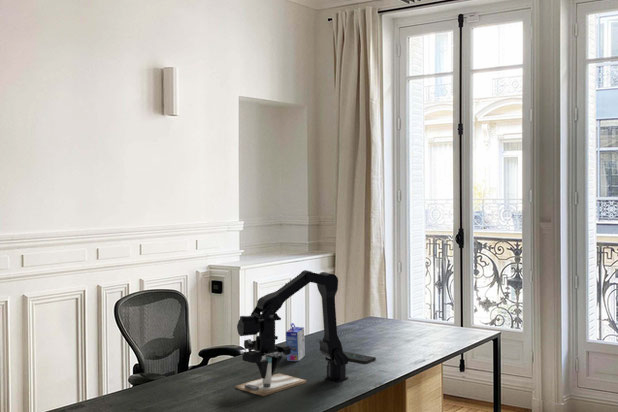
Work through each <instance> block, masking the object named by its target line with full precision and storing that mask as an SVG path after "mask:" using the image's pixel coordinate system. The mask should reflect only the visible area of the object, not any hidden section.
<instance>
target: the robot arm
mask: <svg viewBox="0 0 618 412" xmlns="http://www.w3.org/2000/svg"><path fill="white" fill-rule="evenodd" d="M310 283H314V284H316V288H317V291H318V292H319V294H320V296H321V306H322V319H323V331H324V332H323V334H324V335H323V338H322V339H319V341H318V343H319V351H320V352H321V355H322V356H323V358H324V360H325V361H326V362H327V365H326V376H325V377H324V380H329V381H333V382H336V383H339V382H341V381H344V380H347V379H349V377H348V376H346V375H347V374H346V373H347V372H346V371H347V369H346V368H347V365H348V364H349V362H350V361H349V358H348V357H347V356H346V355H345V354H344V353H343V351H344V350H343V349H344V348H343V345H342V342H341V339H340V338H339V336H338V324H337V312H336V295H337V292H338V290H339V277H338V276H337V275H335V274H334V273H332V272H331V273H330V272H326V271H322V272H320V273H317V272H313V271H310V270H306V269H305V270H302V271H301V272H300V273H299V274H297V275H296V276H295V277H294V278H292V279H291V280H290V281H289V282H287V283H285V284H284V285H282V287H280V288H278V290H275V291H273V292H271V293H266V294H265V295H263V296H261V297H260V298H259V299H257V301H256V302H257V303H256V306H254V309H253V310H252V312H251V313H250V315H240V316H239V320H238V322H237V325H236V326H237V327H236V329H237V330H236V331H237V333H238V336H239V337H246V336H247V337H248V336H255V335H256V336H255V340H252V339H251V338H249V339H248V338H247V339H244V342H243V347H244V349H245V350H248V351H245V352H243V354H242V361H244V362H248V363H251V364H255V365H256V366H257V368H258V371H259V373H260V376H261V378H263V379H265V376H266V371H267V366H268V360H266V357H272V375H274V373H275V371H276V369H277V367H278V365H279V363H280V362H281V360H282V359H283V357H284V356H282V355H281V353H283V355H285V356H287V355H288V354H291V348H290V347H289V346H288V345H286V344H282V343H278V344H276V340H278V338H279V336H278V335H276V321H281V320H282V317H280V315H278V314H277V312H278V311H279V310H280V309H281V308H282V306H283V304H285V303H284V302H286V301H287V300H288V299H289V298H291V297H292V296H294V295H295V294H296V293H298V292H299V291H300V290H302V289H303V288H304V287H305V286H307V285H308V284H310ZM257 334H258V335H257Z"/></svg>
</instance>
